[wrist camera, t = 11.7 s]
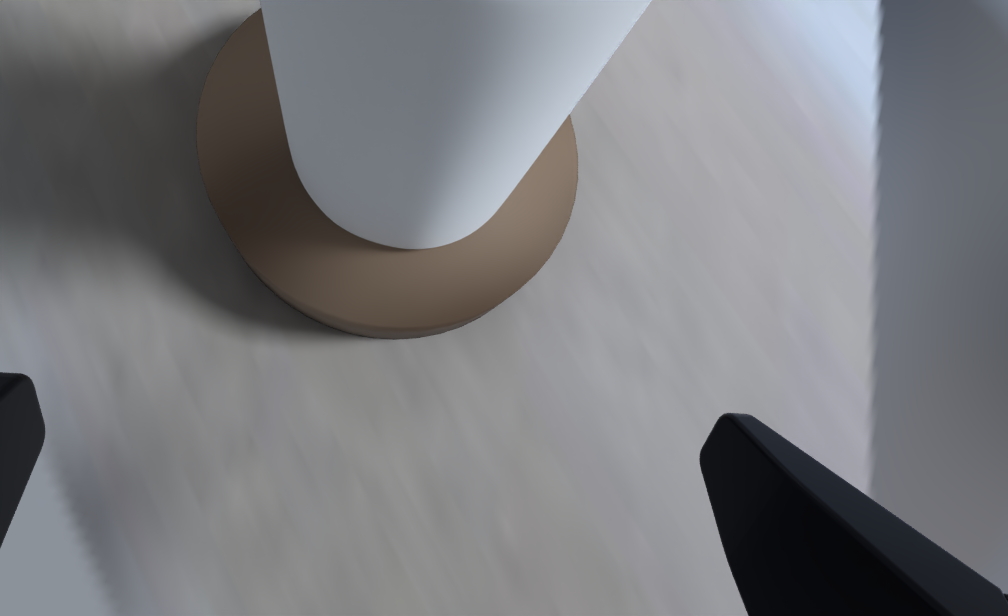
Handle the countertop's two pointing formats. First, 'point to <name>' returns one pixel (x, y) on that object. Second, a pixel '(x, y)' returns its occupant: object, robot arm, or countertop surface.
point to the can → (430, 102)
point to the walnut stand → (340, 254)
